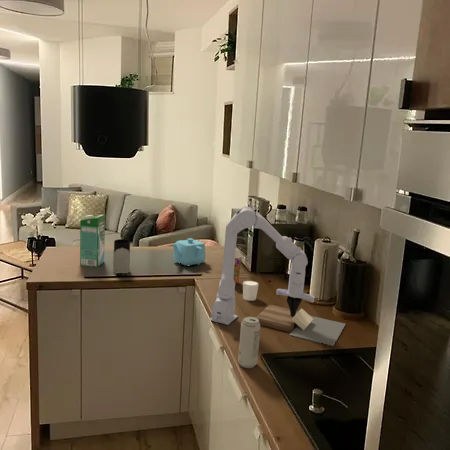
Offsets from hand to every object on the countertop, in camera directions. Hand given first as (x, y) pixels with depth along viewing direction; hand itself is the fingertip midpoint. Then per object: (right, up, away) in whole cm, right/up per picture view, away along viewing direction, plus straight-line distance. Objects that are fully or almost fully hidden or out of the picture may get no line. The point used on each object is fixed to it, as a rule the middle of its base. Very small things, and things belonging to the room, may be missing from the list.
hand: (293, 315), depth 185 cm
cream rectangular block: (+3, -2, -1) cm, 4 cm away
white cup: (-15, +3, +25) cm, 29 cm away
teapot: (-46, +14, +68) cm, 84 cm away
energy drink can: (-19, -9, -33) cm, 39 cm away
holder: (-77, +13, +52) cm, 94 cm away
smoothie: (-23, +7, +43) cm, 49 cm away
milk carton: (-93, +15, +57) cm, 110 cm away
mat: (+9, -5, -3) cm, 11 cm away
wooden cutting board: (-5, -2, +3) cm, 6 cm away
